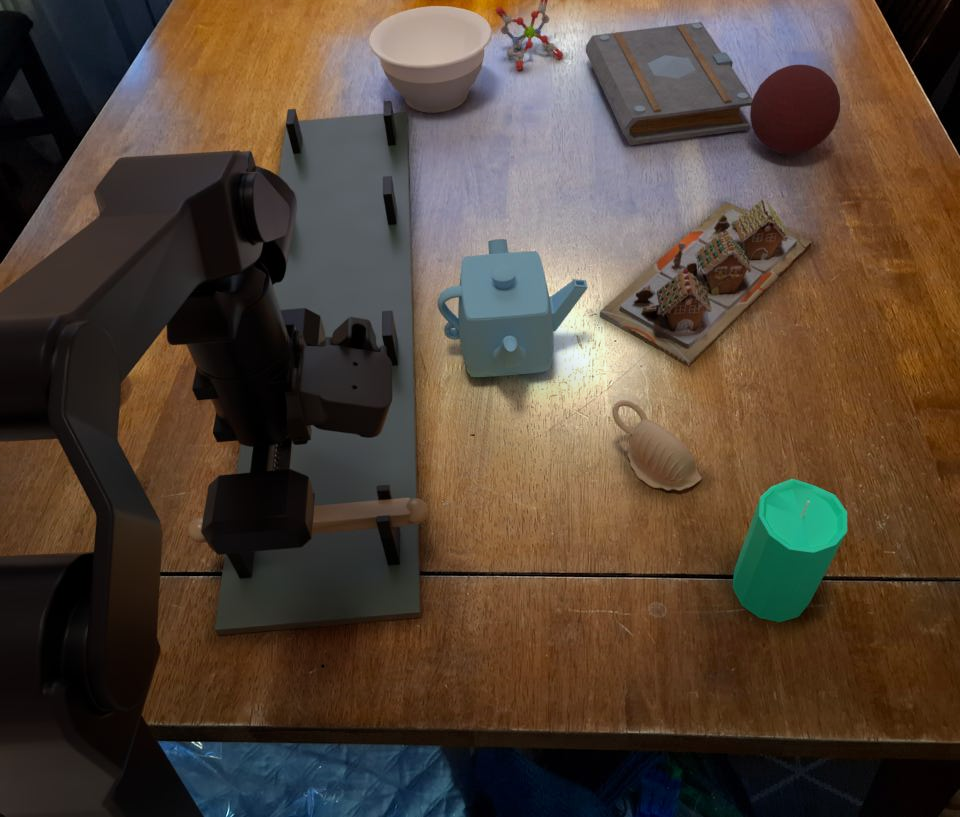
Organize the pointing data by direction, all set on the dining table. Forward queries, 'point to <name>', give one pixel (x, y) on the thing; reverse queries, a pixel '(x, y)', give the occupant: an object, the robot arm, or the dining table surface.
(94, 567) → the robot arm
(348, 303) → the rack
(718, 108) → the book
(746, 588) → the candle
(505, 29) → the molecular model
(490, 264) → the teapot
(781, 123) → the decorative ball
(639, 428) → the decorative ornament
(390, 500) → the beige rounded rod
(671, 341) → the gingerbread house
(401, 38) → the bowl
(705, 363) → the dining table surface
